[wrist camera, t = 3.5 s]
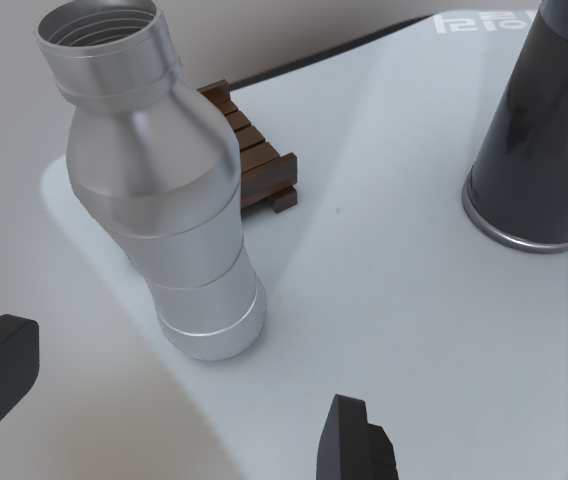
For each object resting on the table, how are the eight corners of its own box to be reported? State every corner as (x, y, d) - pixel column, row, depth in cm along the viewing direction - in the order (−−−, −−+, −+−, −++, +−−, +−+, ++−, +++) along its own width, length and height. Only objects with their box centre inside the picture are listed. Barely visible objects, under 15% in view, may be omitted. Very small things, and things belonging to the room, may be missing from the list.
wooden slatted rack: (229, 114, 42) (221, 75, 38) (302, 201, 34) (301, 161, 31) (91, 168, 38) (70, 130, 35) (140, 278, 30) (118, 244, 27)
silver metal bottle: (188, 276, 30) (51, -31, 14) (279, 290, 29) (239, -27, 13) (155, 361, 27) (-81, 72, 11) (258, 381, 25) (166, 90, 10)
